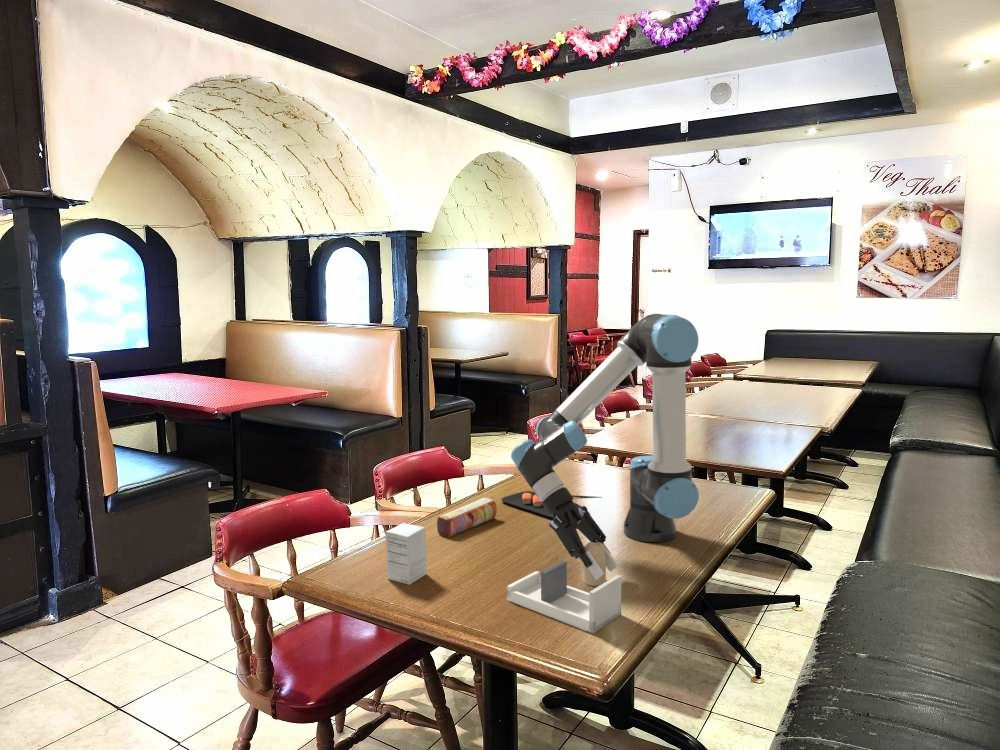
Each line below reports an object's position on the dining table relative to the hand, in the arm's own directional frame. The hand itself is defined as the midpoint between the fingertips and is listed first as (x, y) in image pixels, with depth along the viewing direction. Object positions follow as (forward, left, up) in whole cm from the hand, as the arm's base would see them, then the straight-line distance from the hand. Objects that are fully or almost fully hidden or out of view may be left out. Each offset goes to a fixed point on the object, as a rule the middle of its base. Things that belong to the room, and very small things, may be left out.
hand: (607, 572), depth 166 cm
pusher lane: (+16, -2, -3) cm, 16 cm away
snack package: (-8, -55, -4) cm, 56 cm away
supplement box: (+28, -42, -4) cm, 50 cm away
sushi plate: (-45, -48, -4) cm, 65 cm away
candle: (0, -4, -4) cm, 5 cm away
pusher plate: (+16, -4, -2) cm, 17 cm away
